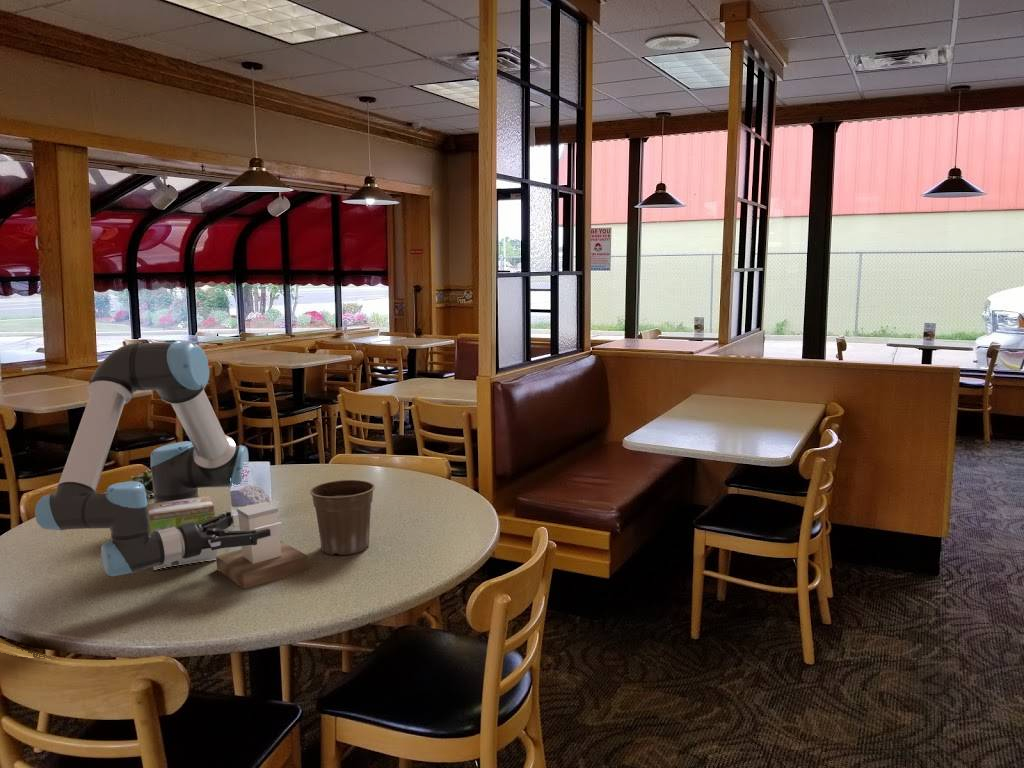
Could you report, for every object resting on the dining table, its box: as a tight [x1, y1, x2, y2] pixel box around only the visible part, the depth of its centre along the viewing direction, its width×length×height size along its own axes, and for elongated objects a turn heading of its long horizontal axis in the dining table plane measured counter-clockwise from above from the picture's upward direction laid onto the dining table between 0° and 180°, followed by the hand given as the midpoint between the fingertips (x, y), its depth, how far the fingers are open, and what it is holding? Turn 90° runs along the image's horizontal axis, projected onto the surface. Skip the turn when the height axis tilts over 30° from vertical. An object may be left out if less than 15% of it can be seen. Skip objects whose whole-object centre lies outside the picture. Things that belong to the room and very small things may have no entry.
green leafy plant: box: [130, 469, 154, 500], centre depth 246 cm, size 11×11×12 cm
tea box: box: [147, 495, 218, 570], centre depth 193 cm, size 15×10×15 cm, turn 117°
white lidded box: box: [236, 501, 282, 564], centre depth 184 cm, size 7×7×12 cm
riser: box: [216, 540, 310, 589], centre depth 186 cm, size 16×16×4 cm
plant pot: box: [309, 479, 376, 556], centre depth 198 cm, size 16×16×16 cm
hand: (270, 521), depth 186 cm, fingers open, 13 cm apart
